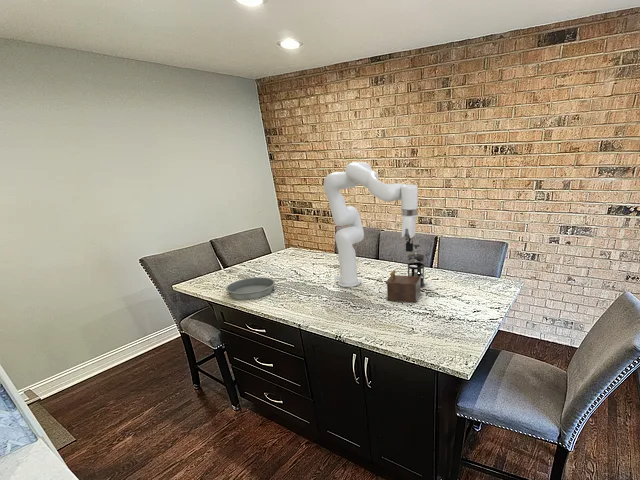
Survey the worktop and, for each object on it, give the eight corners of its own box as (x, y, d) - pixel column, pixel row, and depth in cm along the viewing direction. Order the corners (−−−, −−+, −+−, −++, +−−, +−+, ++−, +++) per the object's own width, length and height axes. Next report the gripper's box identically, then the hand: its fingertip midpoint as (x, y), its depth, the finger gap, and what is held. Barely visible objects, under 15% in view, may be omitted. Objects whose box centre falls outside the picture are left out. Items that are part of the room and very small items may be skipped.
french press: (420, 289, 183) (420, 248, 174) (404, 287, 186) (404, 246, 178) (427, 282, 193) (428, 243, 184) (412, 280, 196) (411, 241, 188)
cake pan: (239, 305, 167) (238, 296, 166) (220, 293, 183) (218, 285, 181) (284, 291, 184) (283, 283, 182) (263, 281, 199) (261, 274, 198)
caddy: (387, 300, 170) (387, 283, 167) (393, 292, 180) (393, 276, 177) (415, 302, 166) (415, 286, 163) (420, 294, 177) (420, 278, 173)
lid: (385, 283, 167) (385, 274, 165) (392, 276, 177) (391, 267, 175) (415, 286, 163) (415, 277, 161) (420, 278, 173) (420, 269, 172)
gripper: (405, 210, 164) (405, 247, 171) (397, 214, 150) (397, 254, 158) (420, 210, 162) (420, 247, 169) (413, 215, 149) (413, 255, 156)
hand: (409, 251), depth 163 cm, fingers closed
